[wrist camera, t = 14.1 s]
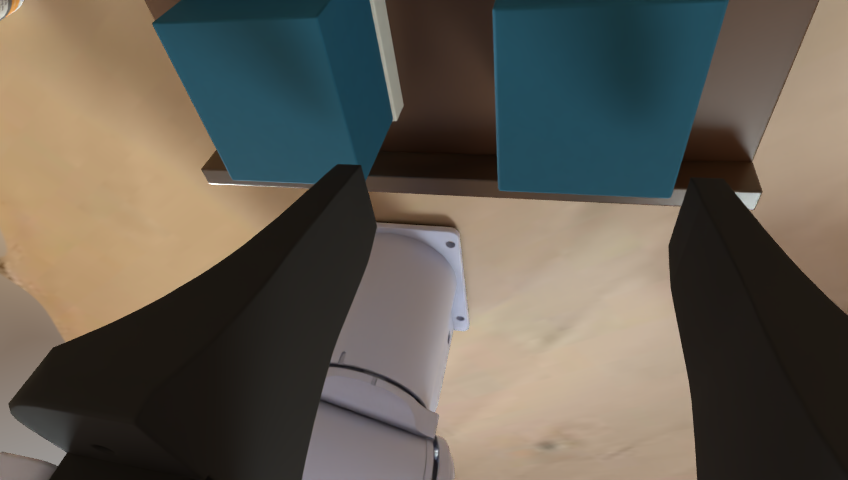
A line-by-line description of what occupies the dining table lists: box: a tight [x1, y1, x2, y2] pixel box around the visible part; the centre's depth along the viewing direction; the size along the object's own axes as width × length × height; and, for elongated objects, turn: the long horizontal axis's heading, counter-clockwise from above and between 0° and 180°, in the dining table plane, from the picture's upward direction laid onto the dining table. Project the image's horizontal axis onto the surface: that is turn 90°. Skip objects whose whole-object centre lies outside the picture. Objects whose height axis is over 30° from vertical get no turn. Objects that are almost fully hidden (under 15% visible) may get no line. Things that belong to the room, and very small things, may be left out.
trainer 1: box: [152, 0, 404, 184], centre depth 14 cm, size 8×5×4 cm, turn 8°
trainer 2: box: [492, 0, 729, 199], centre depth 12 cm, size 8×5×4 cm, turn 8°
